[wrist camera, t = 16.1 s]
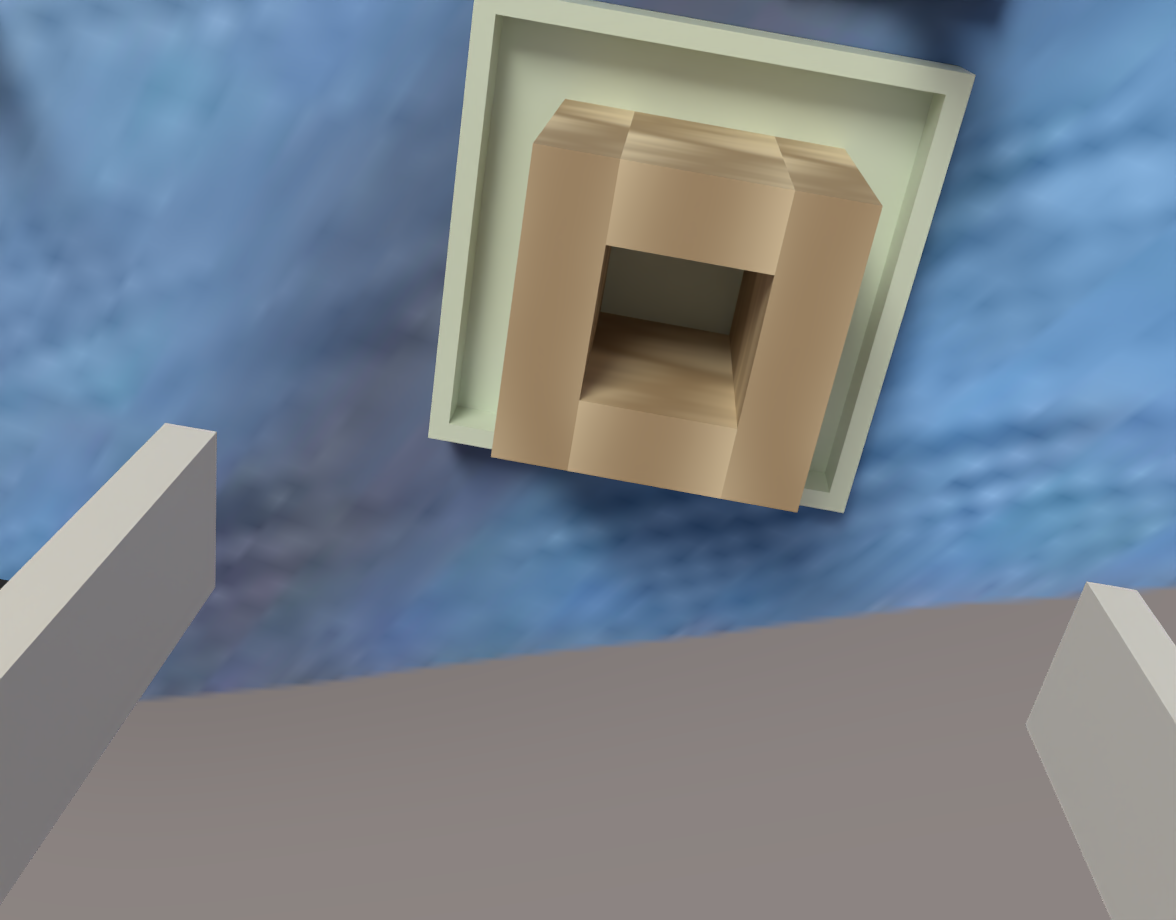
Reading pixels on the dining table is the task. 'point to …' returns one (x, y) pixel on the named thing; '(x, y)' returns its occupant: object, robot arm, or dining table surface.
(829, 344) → the bored block
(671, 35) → the tray
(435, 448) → the dining table surface
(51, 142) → the dining table surface
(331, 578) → the dining table surface
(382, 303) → the dining table surface
